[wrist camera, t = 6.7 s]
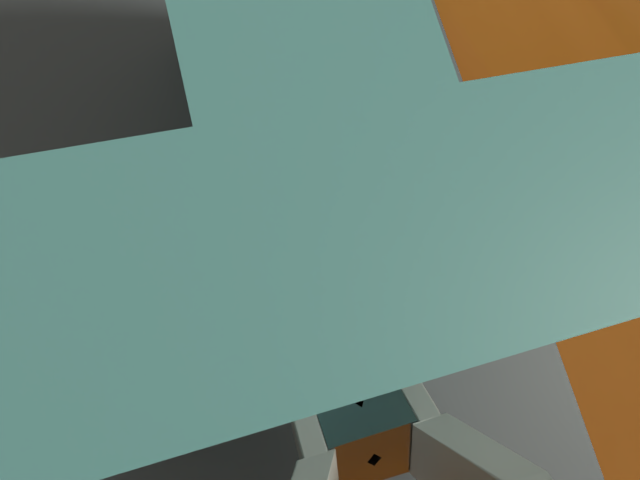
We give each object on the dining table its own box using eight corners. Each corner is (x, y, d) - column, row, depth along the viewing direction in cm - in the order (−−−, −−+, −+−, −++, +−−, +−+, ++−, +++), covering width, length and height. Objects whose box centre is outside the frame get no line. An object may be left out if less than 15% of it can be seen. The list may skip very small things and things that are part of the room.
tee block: (98, 418, 14) (-244, 582, 4) (41, 53, 16) (-263, -360, 7) (494, 308, 17) (824, 261, 7) (396, 9, 19) (541, -334, 9)
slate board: (-66, 813, 12) (-98, 862, 11) (-136, -17, 17) (-164, -42, 16) (603, 535, 17) (629, 549, 15) (393, -69, 21) (401, -92, 20)
